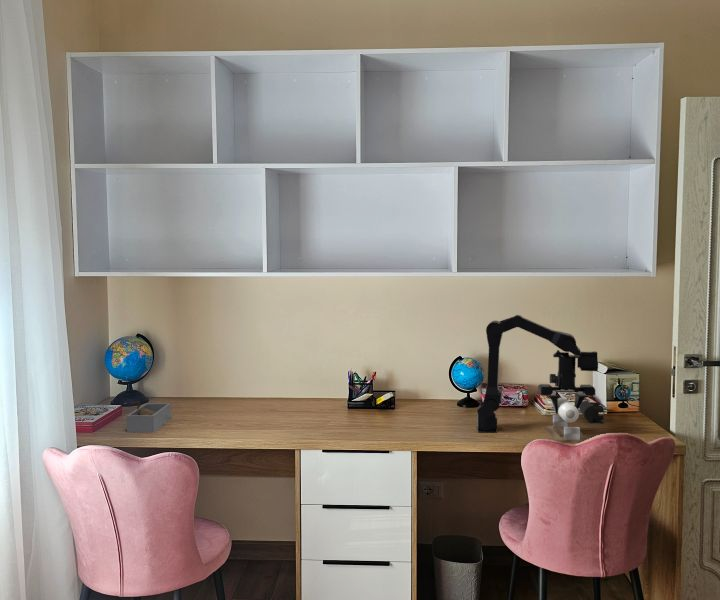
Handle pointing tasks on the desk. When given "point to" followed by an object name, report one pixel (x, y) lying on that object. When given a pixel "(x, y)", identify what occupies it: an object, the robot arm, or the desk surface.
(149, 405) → the box
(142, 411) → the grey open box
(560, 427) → the roll holder
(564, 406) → the paper roll
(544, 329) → the robot arm
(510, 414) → the desk surface
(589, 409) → the end cap
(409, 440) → the desk surface
